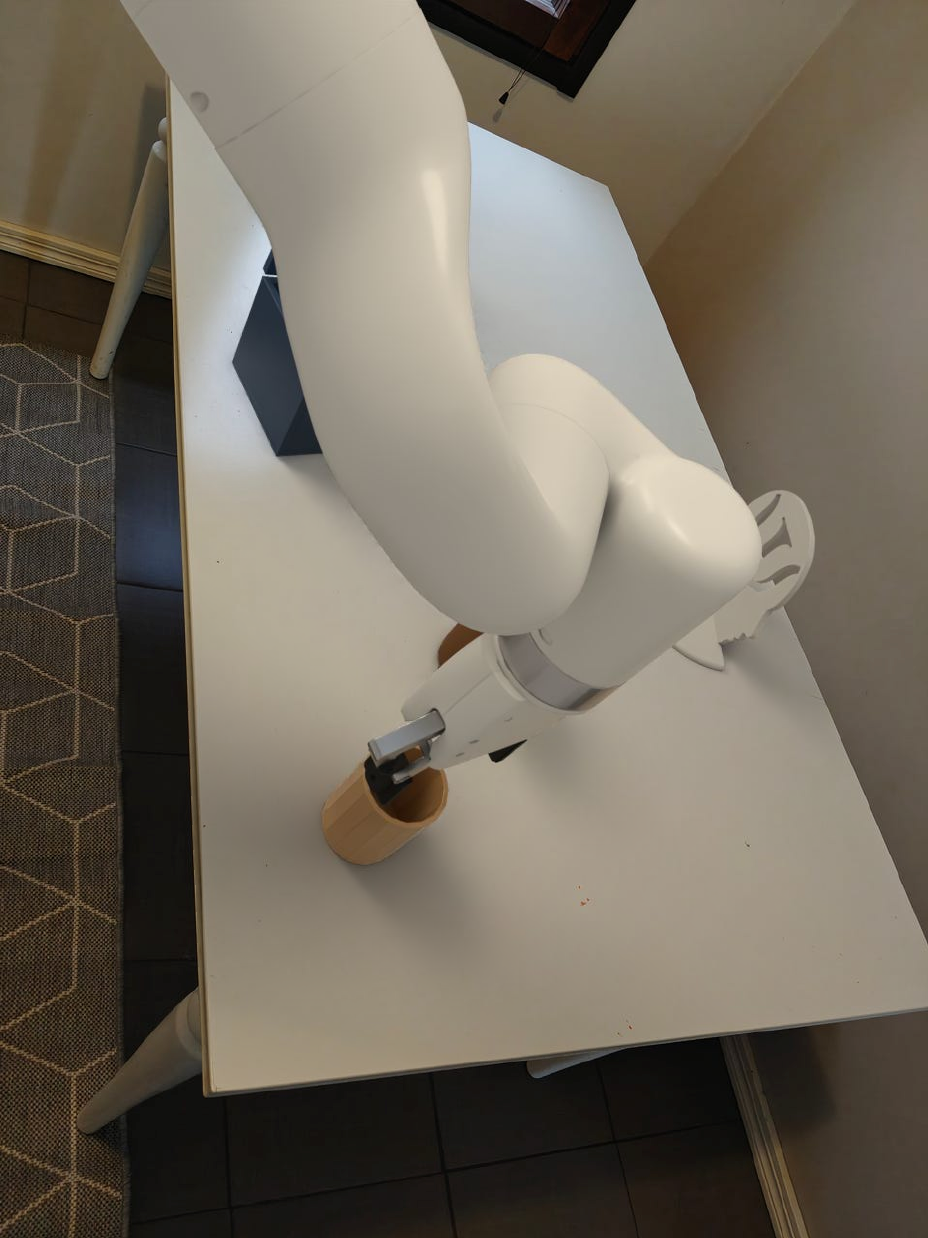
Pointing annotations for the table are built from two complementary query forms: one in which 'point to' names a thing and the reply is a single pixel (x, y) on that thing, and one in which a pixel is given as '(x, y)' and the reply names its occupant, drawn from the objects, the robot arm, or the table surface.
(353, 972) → the table surface
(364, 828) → the wooden cup
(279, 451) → the cooler
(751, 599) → the ornament
